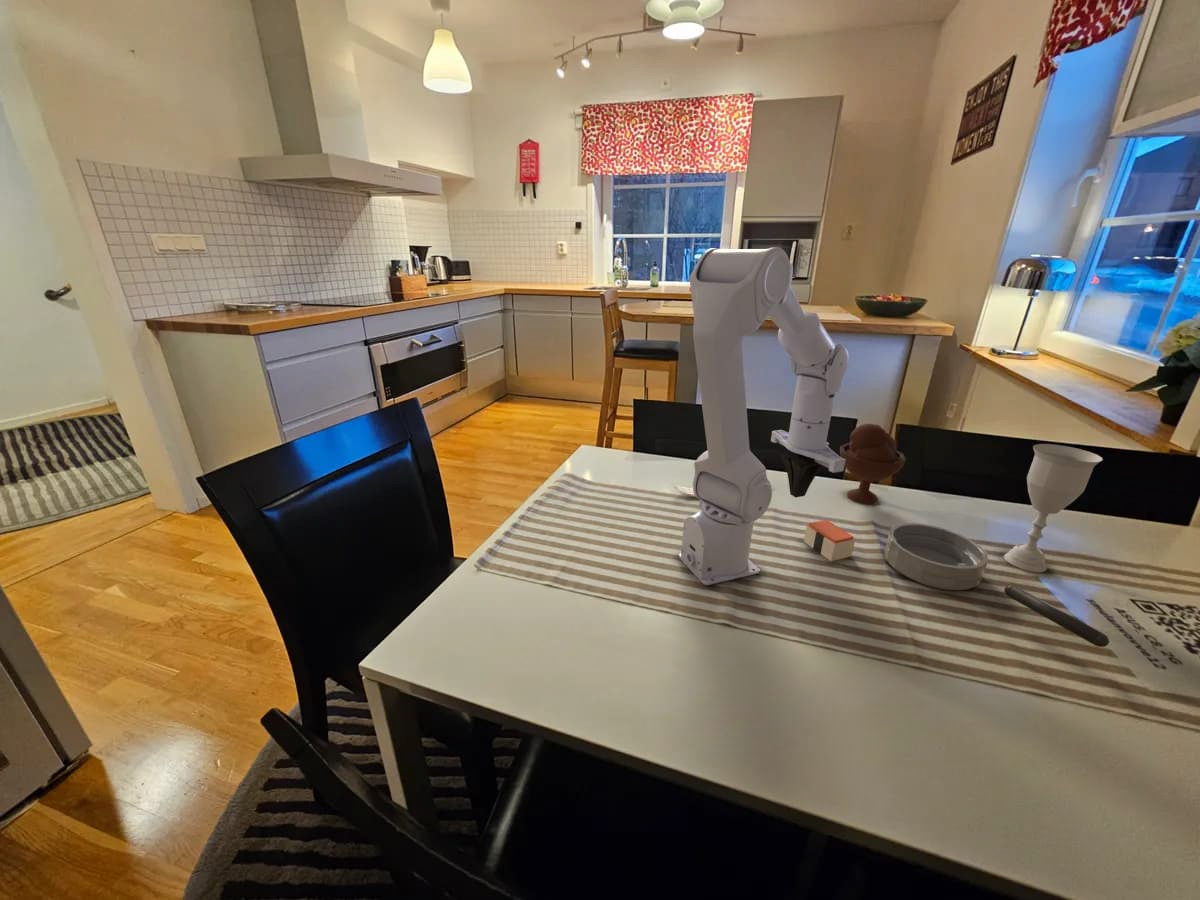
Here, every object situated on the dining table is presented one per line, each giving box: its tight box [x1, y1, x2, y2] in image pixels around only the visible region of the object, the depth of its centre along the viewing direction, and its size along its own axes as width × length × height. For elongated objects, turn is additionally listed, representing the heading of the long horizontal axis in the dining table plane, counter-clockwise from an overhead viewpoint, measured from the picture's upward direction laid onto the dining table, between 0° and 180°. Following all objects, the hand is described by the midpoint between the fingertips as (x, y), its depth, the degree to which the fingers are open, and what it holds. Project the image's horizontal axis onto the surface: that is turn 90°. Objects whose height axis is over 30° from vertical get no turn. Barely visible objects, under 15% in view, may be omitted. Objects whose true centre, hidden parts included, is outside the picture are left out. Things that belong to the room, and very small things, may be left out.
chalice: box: [1003, 443, 1103, 573], centre depth 71 cm, size 7×7×18 cm
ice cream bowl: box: [839, 423, 907, 505], centre depth 92 cm, size 11×11×15 cm
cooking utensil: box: [671, 483, 696, 497], centre depth 97 cm, size 3×20×2 cm, turn 103°
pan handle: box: [1004, 584, 1110, 648], centre depth 59 cm, size 2×11×2 cm, turn 20°
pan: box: [883, 522, 989, 591], centre depth 73 cm, size 12×12×4 cm
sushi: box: [803, 519, 856, 562], centre depth 77 cm, size 4×6×4 cm
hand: (797, 495), depth 83 cm, fingers closed
